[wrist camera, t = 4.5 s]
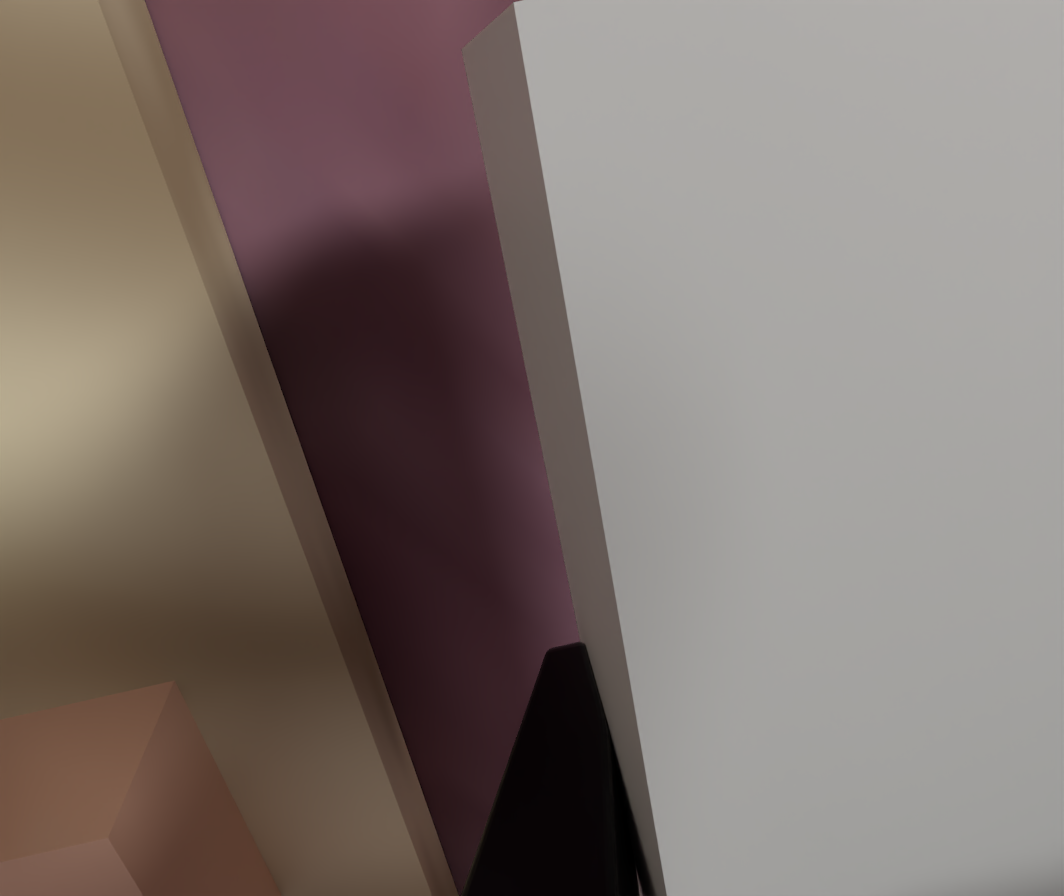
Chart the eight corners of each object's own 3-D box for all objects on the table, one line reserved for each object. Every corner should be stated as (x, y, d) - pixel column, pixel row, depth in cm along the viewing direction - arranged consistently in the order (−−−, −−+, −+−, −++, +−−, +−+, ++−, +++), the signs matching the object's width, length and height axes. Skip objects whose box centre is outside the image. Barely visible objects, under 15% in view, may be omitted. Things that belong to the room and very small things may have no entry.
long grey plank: (802, 896, 12) (1021, 1385, 8) (638, 933, 12) (762, 1448, 8) (746, -10, 7) (1326, -167, 2) (461, 49, 7) (511, 1, 2)
